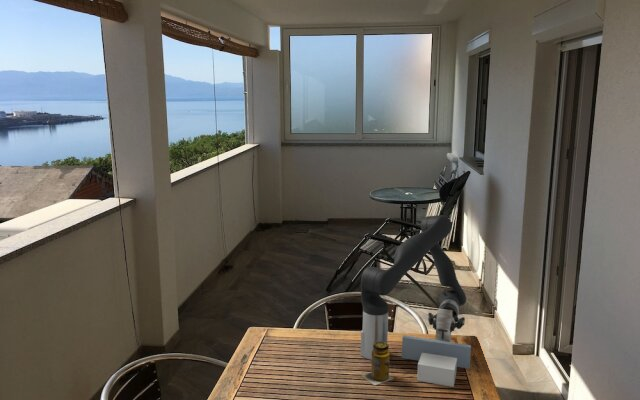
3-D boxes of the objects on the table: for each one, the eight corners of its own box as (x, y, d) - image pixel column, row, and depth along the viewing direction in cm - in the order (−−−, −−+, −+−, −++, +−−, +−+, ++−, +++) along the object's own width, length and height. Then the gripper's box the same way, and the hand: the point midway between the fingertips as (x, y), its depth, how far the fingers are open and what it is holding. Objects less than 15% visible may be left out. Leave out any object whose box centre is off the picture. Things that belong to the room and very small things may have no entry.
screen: (401, 357, 198) (402, 337, 197) (402, 355, 200) (403, 335, 199) (469, 368, 191) (470, 347, 189) (469, 366, 192) (471, 345, 191)
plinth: (417, 380, 182) (417, 364, 181) (421, 368, 191) (422, 352, 190) (453, 387, 178) (454, 370, 177) (456, 374, 187) (457, 358, 186)
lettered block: (435, 344, 197) (436, 313, 195) (437, 338, 202) (438, 308, 200) (449, 346, 196) (451, 315, 194) (450, 341, 201) (452, 310, 198)
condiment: (394, 378, 183) (395, 345, 181) (374, 386, 179) (375, 352, 177) (380, 370, 189) (381, 337, 187) (361, 376, 185) (361, 343, 183)
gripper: (430, 300, 213) (423, 315, 197) (467, 305, 208) (464, 321, 192) (429, 318, 214) (422, 335, 198) (466, 323, 210) (462, 341, 194)
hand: (443, 328), depth 195 cm, fingers closed on lettered block, 5 cm apart
